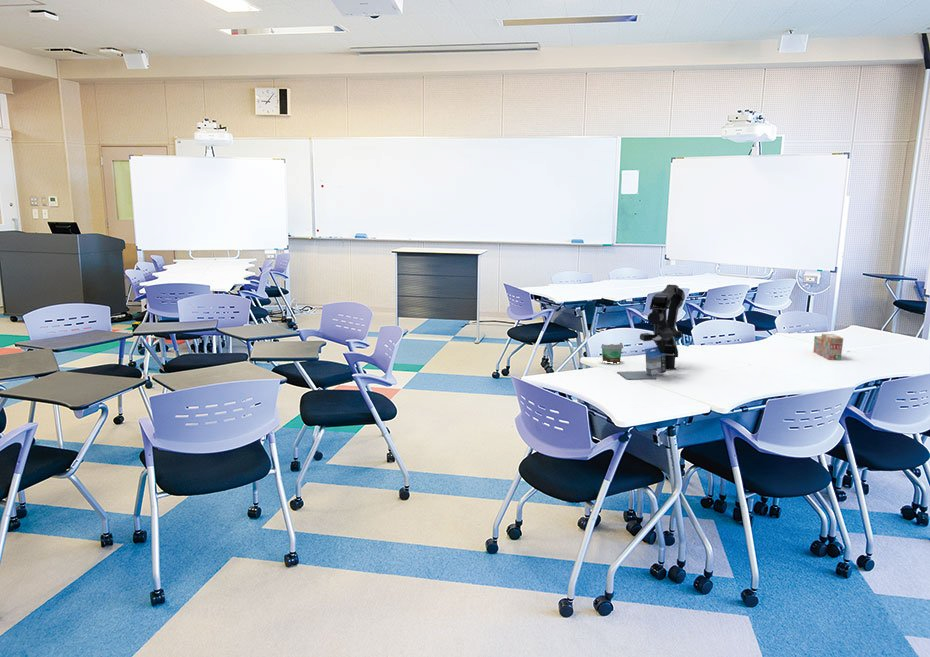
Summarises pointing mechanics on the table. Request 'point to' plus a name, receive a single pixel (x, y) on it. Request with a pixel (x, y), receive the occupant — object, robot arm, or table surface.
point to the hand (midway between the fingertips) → (661, 353)
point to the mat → (635, 375)
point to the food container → (611, 352)
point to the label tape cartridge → (655, 361)
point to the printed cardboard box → (828, 346)
